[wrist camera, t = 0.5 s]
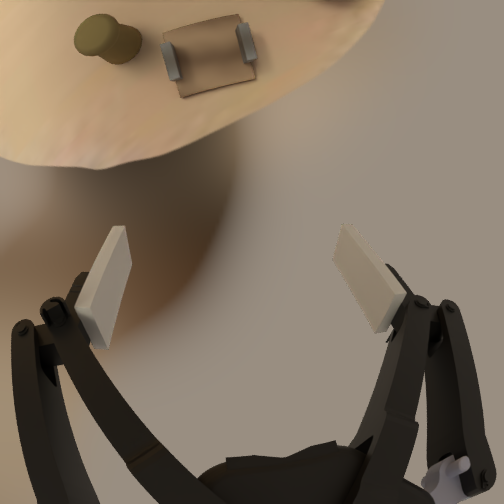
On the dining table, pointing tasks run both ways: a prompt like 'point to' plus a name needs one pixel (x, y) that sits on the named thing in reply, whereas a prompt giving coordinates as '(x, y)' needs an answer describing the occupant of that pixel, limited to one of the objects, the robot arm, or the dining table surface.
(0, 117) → the dining table surface
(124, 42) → the cork
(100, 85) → the dining table surface
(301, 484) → the robot arm
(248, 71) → the stand
